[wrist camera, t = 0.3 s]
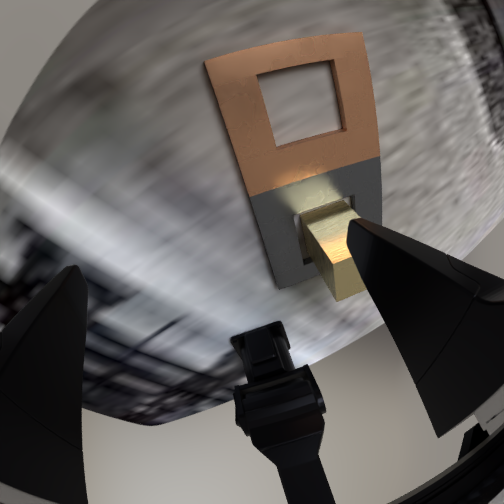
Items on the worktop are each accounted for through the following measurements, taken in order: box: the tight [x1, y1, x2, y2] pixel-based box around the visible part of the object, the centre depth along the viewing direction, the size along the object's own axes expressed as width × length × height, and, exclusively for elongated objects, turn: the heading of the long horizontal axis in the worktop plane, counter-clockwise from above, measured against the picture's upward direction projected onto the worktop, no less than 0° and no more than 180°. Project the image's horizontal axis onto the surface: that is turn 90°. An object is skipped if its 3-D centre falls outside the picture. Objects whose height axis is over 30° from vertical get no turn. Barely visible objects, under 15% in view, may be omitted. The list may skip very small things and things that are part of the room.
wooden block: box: [300, 200, 367, 302], centre depth 24 cm, size 4×4×7 cm
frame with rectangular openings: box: [204, 32, 382, 290], centre depth 23 cm, size 22×12×1 cm, turn 15°
